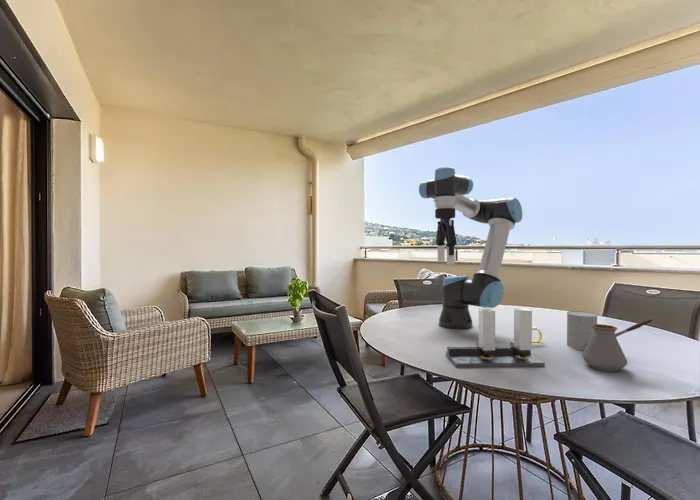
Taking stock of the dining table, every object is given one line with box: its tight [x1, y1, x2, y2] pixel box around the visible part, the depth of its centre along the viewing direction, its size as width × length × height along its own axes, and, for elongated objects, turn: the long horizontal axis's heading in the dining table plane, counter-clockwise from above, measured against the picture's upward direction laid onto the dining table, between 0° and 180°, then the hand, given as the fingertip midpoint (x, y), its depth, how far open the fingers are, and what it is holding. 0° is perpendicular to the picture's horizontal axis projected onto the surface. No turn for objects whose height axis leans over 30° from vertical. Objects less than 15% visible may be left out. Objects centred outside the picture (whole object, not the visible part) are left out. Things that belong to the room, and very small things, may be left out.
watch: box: [532, 326, 543, 344], centre depth 136 cm, size 6×3×6 cm, turn 83°
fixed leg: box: [509, 307, 533, 355], centre depth 118 cm, size 8×4×15 cm, turn 0°
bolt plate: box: [445, 345, 546, 368], centre depth 117 cm, size 12×28×3 cm, turn 90°
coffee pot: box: [582, 318, 657, 373], centre depth 109 cm, size 21×12×15 cm, turn 90°
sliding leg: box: [475, 308, 496, 356], centre depth 118 cm, size 8×4×15 cm, turn 0°
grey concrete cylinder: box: [566, 310, 598, 351], centre depth 130 cm, size 10×10×12 cm
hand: (445, 263), depth 135 cm, fingers open, 13 cm apart
